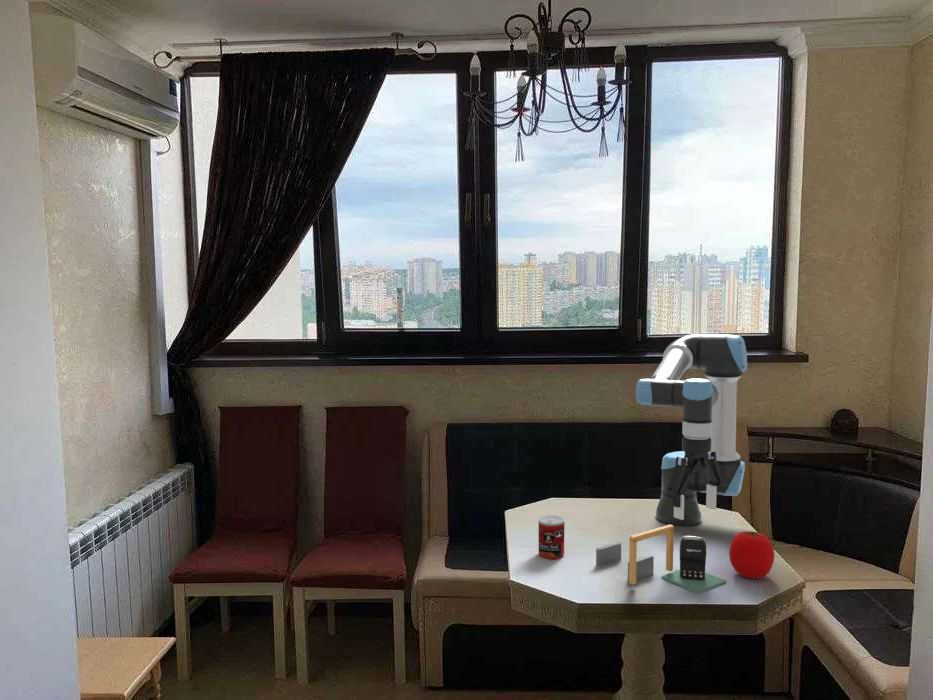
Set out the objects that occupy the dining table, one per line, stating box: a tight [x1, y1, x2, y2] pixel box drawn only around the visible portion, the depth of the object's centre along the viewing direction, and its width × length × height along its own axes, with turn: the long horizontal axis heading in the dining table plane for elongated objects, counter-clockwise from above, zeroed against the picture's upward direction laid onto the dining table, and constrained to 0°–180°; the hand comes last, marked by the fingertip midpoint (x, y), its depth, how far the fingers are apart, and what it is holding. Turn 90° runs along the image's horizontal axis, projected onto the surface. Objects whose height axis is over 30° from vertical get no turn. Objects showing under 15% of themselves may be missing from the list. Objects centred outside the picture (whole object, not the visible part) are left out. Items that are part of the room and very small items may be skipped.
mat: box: [661, 569, 727, 594], centre depth 189 cm, size 12×12×1 cm
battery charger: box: [678, 535, 707, 580], centre depth 188 cm, size 7×4×11 cm, turn 75°
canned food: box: [538, 515, 565, 561], centre depth 207 cm, size 8×8×11 cm
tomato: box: [728, 530, 775, 580], centre depth 191 cm, size 12×12×13 cm
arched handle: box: [628, 524, 675, 585], centre depth 188 cm, size 16×1×13 cm, turn 124°
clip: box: [595, 541, 655, 581], centre depth 196 cm, size 9×13×5 cm
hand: (695, 513), depth 188 cm, fingers open, 13 cm apart
